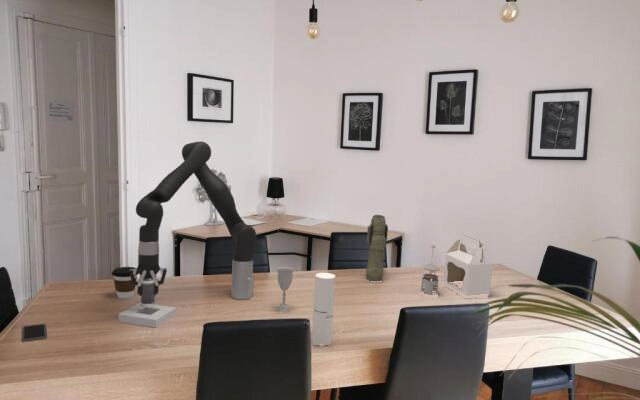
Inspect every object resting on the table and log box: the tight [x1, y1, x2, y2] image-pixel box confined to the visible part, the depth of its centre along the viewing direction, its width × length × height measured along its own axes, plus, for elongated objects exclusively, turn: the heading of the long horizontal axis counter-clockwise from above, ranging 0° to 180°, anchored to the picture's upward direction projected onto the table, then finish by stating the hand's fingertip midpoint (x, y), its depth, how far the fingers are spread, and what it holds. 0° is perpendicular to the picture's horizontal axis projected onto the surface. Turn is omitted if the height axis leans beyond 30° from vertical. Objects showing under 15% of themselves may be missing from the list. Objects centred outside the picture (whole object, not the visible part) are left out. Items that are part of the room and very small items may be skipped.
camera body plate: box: [118, 301, 177, 328], centre depth 187 cm, size 16×14×4 cm
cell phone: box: [21, 323, 48, 343], centre depth 169 cm, size 7×14×1 cm, turn 31°
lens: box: [140, 278, 156, 304], centre depth 186 cm, size 5×5×10 cm
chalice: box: [276, 266, 295, 313], centre depth 204 cm, size 7×7×18 cm
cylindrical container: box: [311, 272, 336, 345], centre depth 173 cm, size 7×7×25 cm
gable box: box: [442, 234, 493, 296], centre depth 244 cm, size 22×13×28 cm, turn 16°
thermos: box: [365, 214, 389, 281], centre depth 254 cm, size 9×12×35 cm
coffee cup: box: [111, 266, 140, 300], centre depth 209 cm, size 11×11×12 cm
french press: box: [420, 245, 441, 295], centre depth 236 cm, size 10×12×25 cm
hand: (147, 294), depth 186 cm, fingers closed on lens, 5 cm apart
